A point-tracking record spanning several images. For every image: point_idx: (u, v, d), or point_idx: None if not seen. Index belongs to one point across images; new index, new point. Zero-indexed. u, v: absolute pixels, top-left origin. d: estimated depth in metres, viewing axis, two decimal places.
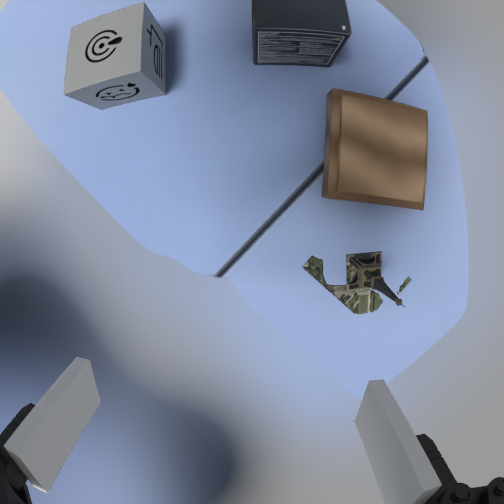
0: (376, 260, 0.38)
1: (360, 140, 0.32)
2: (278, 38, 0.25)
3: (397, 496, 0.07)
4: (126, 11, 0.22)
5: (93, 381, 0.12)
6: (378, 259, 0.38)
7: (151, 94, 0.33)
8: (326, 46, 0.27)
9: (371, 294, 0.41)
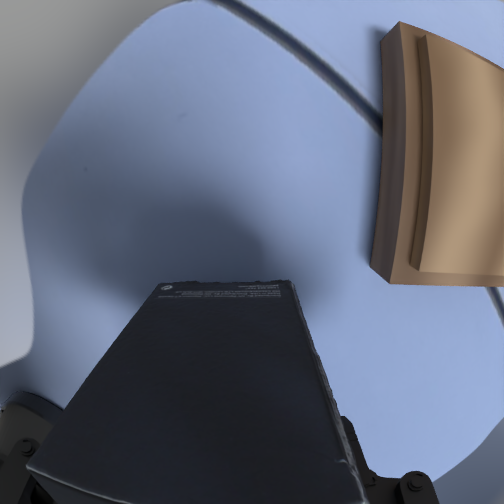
0: None
1: (500, 231, 0.12)
2: None
3: None
4: None
5: None
6: None
7: None
8: None
9: None
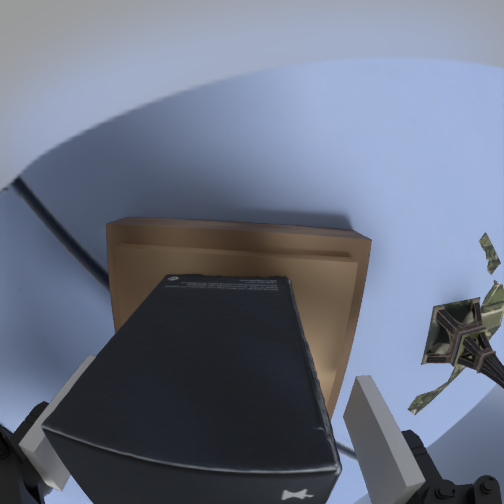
0: (446, 328, 0.18)
1: None
2: None
3: (382, 491, 0.07)
4: None
5: None
6: (446, 323, 0.18)
7: None
8: None
9: (485, 309, 0.19)
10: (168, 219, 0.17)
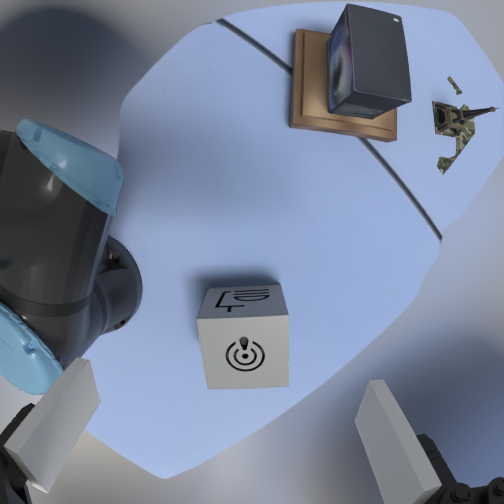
0: (441, 108, 0.33)
1: None
2: None
3: (397, 496, 0.07)
4: (205, 336, 0.32)
5: (93, 381, 0.12)
6: (440, 106, 0.33)
7: None
8: None
9: None
10: None
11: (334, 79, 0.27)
